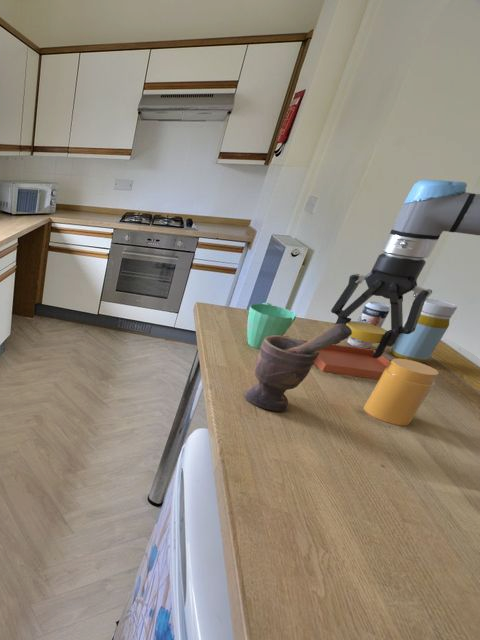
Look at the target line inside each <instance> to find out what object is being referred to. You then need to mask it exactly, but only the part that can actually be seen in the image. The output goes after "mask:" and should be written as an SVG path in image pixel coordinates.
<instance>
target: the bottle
mask: <svg viewBox="0 0 480 640" xmlns="http://www.w3.org/2000/svg"><path fill="white" fill-rule="evenodd" d="M457 309H458V306H457V305H456V304H454V303H451V302H447V301H444V300H439V299H433V298H427V299H426V300H425V302H424V305H423V308H422V311H421V314H420V317H419V320H418V323H417V326H416V329H415V331H414V332H412V333H410V334H400V335H399V337H398V338H397V340H396V342H395V344H394V345H392V346H391V348H390V353H391V355H392V356H394V357H395V358H396V359H407V360H411V361H415V362H419V363H422V364H424V363H427V362H428V361H429V359H430V358H431V356H432V355H433V353H434V351H435V350H436V348H437V346H438V345H439V343H440V342H441V340H442V338H443V337H444V335H445V333H446V332H447V330H448V328H449V327H450V320H451V318H452V316H453V315H454V314H455V312H456V310H457ZM406 322H407V320H406V321H405V323H404V324H403V327H405V325H406Z"/></svg>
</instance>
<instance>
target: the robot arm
mask: <svg viewBox="0 0 480 640" xmlns="http://www.w3.org/2000/svg"><path fill="white" fill-rule="evenodd" d="M467 187H468V183H467V182H465V181H454V180H442V179H421V180H419V181H417V182H415V183H414V184H413V186H412V188H411V190H410V191H409V193H408V194H407V196H406V198H405V200H404V202H403V204H402V206H401V207H400V210H399V212H398V214H397V217H396V219H395V221H394V223H393V226H392V227H391V230H390V232H389V234H388V235H387V238H386V240H385V242H384V244H383V245H382V248H381V252H382V253H380V254H378V256H377V258H376V261H374V262H375V263H374V265H373V266H372V269H371V271H370V272H369V273H367V274H359V273H354V274H350V275H349V278H348V284H347V285H346V287H345V288H344V290H343V291H342V293H341V294H340V295H339V297H338V298H337V301H336V302H335V304H334V305H333V306H332V308H331V309H330V312H331V313H332V314H334V315H336V316H337V319H336V322H335V324H334V325H336V324H341V323H343V324H345V325H346V323H347V322H350V321H352V318H351V317H350V316H351V314H353V313H354V312H355V311H356V310H357V309H358V308H360V307H361V306H362V305H363V304H364V303H366V301H368V300H369V299H370V298H371V297H373V296H376V297H382V298H384V299H386V300H387V299H388V300H389V304H390V323H391V324H390V329H389V330H386V331H387V332H385V334H384V336H383V338H382V340H381V342H380V343H378V346H377V348H376V349H375V350H376V351H375V353H374V355H373V358H378V357H380V356H381V355H383V353H384V352H385V350H386V348H387V347H393V345H394V344H395V342H396V340H397V338H398V337H399V335H400V334H410V333H412V332H414V331H415V329H416V326H417V323H418V320H419V317H420V314H421V311H422V308H423V305H424V302H425V300H426V299H429V297H430V296H431V295H432V294H433V290H432V289H430V288H427V289H426V288H423V287H421V286H420V285H418V282H417V281H418V278H419V276H420V275H421V272H422V271H423V269H424V267H425V265H426V263H427V262H426V260H425V259H428V258H430V256H431V255H432V252H433V250H434V248H435V247H436V244H437V243H438V241H439V239H440V237H441V235H442V233H443V232H448V233H458V234H465V235H473V236H479V237H480V193H472V192H466V191H467ZM364 281H365V283H366V285H367V289H366V290H364V292H362V294H361V295H360V296H359V297H357V298H356V299H355V300H354V301H353V302H351V303H350V304H349V305H348V306H347V307H346V308H345V309H344V307H345V306H346V305H347V303H348V301H349V300H350V299H351V297H352V295H353V294H354V292H355V291H356V290H357V288H358V287H359V285H360V284H362V283H363V282H364ZM411 291H412V292H413V294H412V295H413V298H414V300H413V301H412V304H411V307H410V310H409V313H408V316H407V319H406V321H407V322H406V321H405V323H406V325H405V324H404V321H403V319H404V318H403V315H404V314H403V302H404V295H406V294H407V293H410V292H411ZM343 309H344V310H343ZM404 325H405V327H404ZM340 343H341V341H340V342H338V343H335V345H339V344H340Z"/></svg>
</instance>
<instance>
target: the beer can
mask: <svg viewBox="0 0 480 640" xmlns="http://www.w3.org/2000/svg"><path fill="white" fill-rule="evenodd" d="M390 312H391V307H390V305H389V304H386V303H384V302H383V303H382V302H379V301H369V302H367V303H366V304H365V305H364V307H363V309H362V311H361V313H360V315H359V317H358V319H357V321H356V322H363V323H368V324H372V325H375V326H378V327H381V328H382V326H383V324H384V322H385V321H386V318H387V317H388V315H389V313H390ZM347 343H348V344H349V346H351V347H358V348H365V349H371V347H372V345H373V343H371V342H365V341H361V340H357V339H354V338H351V337H348V338H347Z"/></svg>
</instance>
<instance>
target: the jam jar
mask: <svg viewBox="0 0 480 640" xmlns="http://www.w3.org/2000/svg"><path fill="white" fill-rule="evenodd" d="M390 361H391V363H390V365H389V367H387V368H385V370H384V372H383V373H382V375H381V377H380V379H379V380H378V379H377V382H376V384H375V386H374V388H373V389H372V391H371V393H370V394H369V397H368V398H367V400H366V402H365V403H364V405H363V410H364V412H366V413H367V414H368V415H370V416H372V417H373V418H375V419H376V420H379V421H382V422H385V423H388V424H391V425H395V426H409V425H410V424H411V423H412V421H413V419H414V418H415V416H416V415H417V413H418V411H419V409H421V407H422V405H423V404H424V402H425V400H426V398H427V397H428V395H429V394H430V393H431V391H432V389H433V388H434V386H435V384H436V382H435V380H436V378H437V377H438V375H439V371H438V370H437V369H436V368H434V367H432V366H429V365H427V364H425V363H419V362H415V361H411V360H407V359H400V358H393V359H392V360H391V359H390Z"/></svg>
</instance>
